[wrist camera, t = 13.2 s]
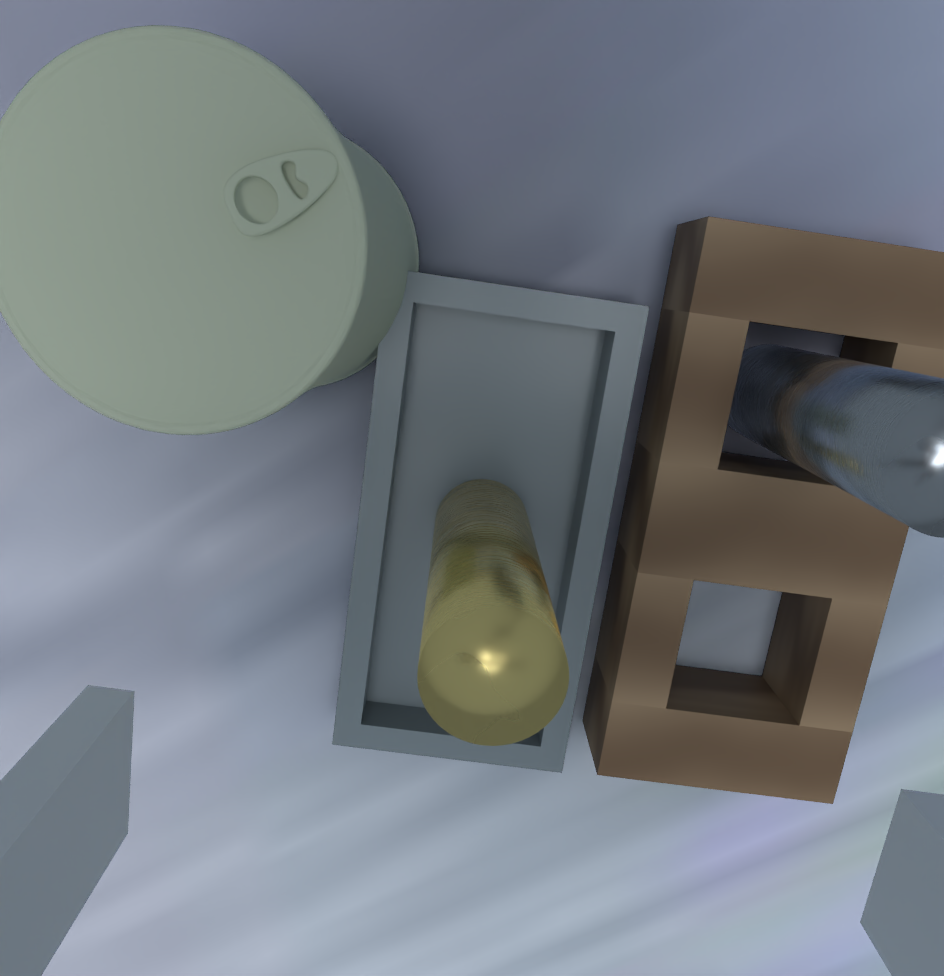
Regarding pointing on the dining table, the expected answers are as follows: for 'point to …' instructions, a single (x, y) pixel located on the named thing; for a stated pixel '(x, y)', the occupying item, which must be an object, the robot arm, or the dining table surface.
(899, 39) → the dining table surface
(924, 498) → the steel pin
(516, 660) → the brass pin
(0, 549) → the dining table surface
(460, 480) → the tray
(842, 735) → the block
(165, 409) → the can
